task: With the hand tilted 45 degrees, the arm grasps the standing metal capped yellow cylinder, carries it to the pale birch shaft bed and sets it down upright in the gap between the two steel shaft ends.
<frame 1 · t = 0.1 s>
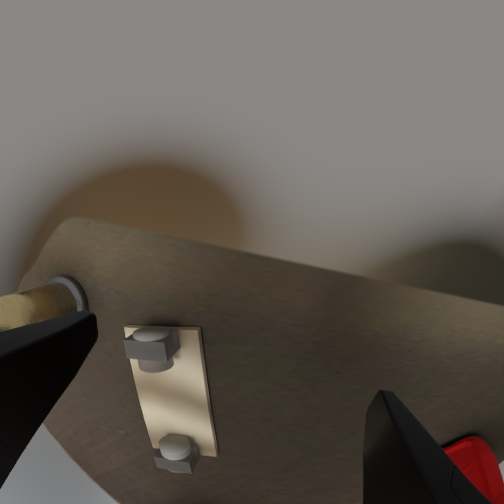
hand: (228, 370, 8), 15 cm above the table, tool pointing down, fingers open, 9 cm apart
metal capped yellow cylinder: (68, 302, 26), on the table
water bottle: (447, 459, 23), on the table
shaft bed: (174, 395, 26), on the table
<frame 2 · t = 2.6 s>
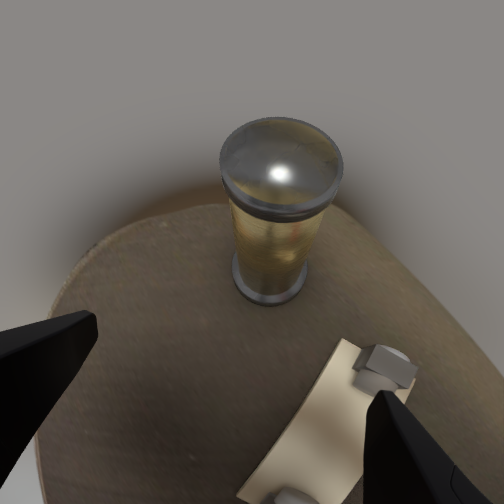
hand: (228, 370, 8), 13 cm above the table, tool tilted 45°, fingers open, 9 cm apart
metal capped yellow cylinder: (269, 271, 24), on the table
shaft bed: (330, 441, 18), on the table
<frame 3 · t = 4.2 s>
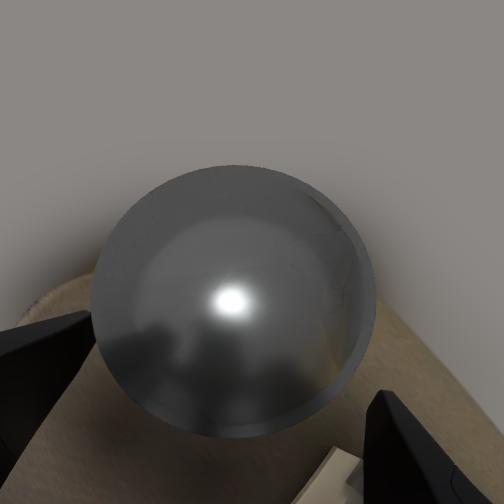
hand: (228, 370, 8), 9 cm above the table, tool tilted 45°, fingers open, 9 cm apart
metal capped yellow cylinder: (244, 357, 17), on the table
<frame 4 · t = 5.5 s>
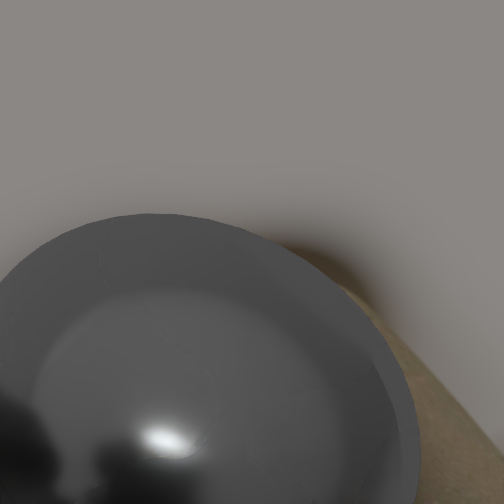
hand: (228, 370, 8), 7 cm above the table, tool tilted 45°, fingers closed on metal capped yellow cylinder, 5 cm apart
metal capped yellow cylinder: (230, 402, 14), on the table, touching gripper
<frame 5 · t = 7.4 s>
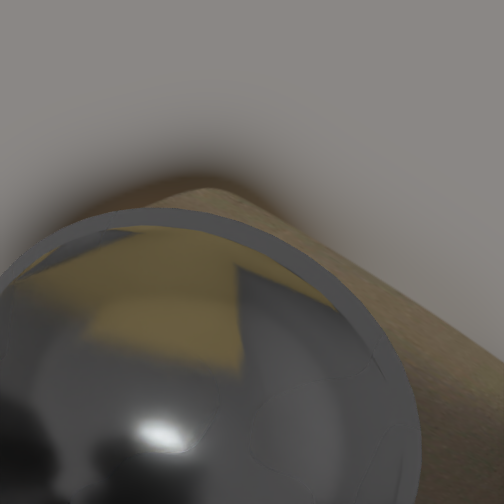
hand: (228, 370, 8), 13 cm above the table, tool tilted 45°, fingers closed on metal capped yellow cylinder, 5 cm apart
metal capped yellow cylinder: (230, 401, 14), point 7 cm above the table, touching gripper
when the fingers open (9 cm above the table, at t = 9.1 s): metal capped yellow cylinder drops 1 cm, resting on shaft bed.
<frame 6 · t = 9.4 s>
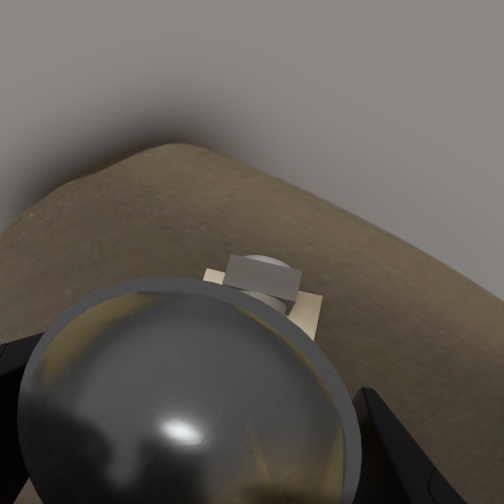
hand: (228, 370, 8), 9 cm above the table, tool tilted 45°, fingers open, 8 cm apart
metal capped yellow cylinder: (231, 402, 15), point 1 cm above the table, touching shaft bed
shaft bed: (233, 399, 16), on the table
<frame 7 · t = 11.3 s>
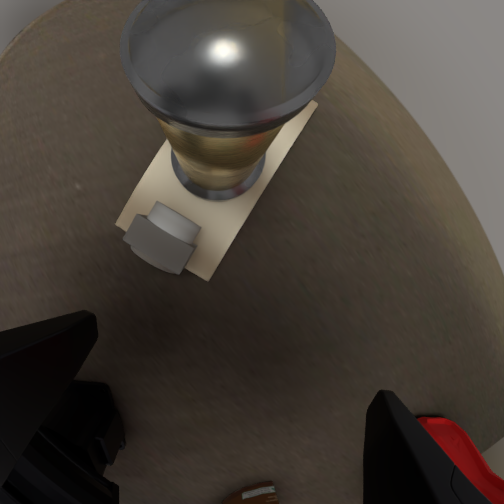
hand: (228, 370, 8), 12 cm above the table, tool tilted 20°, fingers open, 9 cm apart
metal capped yellow cylinder: (218, 157, 18), point 1 cm above the table, touching shaft bed
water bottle: (411, 440, 23), on the table
shaft bed: (218, 159, 19), on the table
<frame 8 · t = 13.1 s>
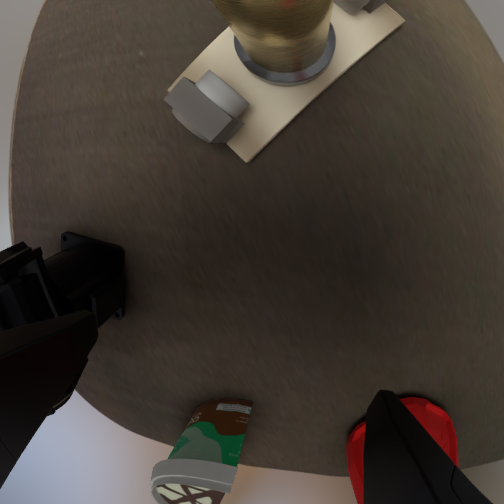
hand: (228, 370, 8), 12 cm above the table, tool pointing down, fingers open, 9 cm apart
metal capped yellow cylinder: (285, 43, 14), point 1 cm above the table, touching shaft bed
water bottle: (403, 419, 23), on the table
food container: (212, 419, 26), on the table
shaft bed: (288, 47, 15), on the table
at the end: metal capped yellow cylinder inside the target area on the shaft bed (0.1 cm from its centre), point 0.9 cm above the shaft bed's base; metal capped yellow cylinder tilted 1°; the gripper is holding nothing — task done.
